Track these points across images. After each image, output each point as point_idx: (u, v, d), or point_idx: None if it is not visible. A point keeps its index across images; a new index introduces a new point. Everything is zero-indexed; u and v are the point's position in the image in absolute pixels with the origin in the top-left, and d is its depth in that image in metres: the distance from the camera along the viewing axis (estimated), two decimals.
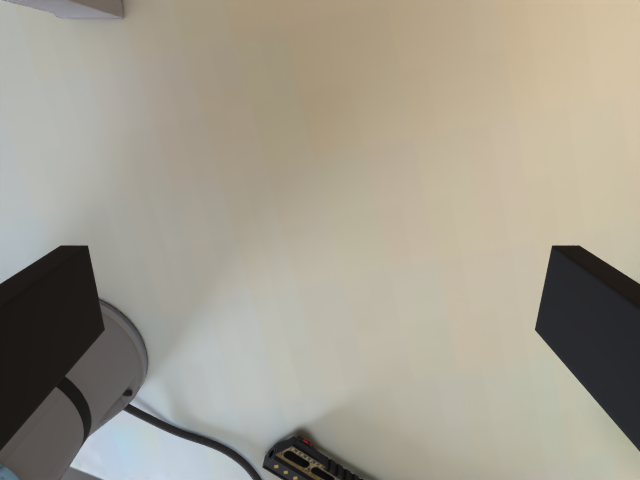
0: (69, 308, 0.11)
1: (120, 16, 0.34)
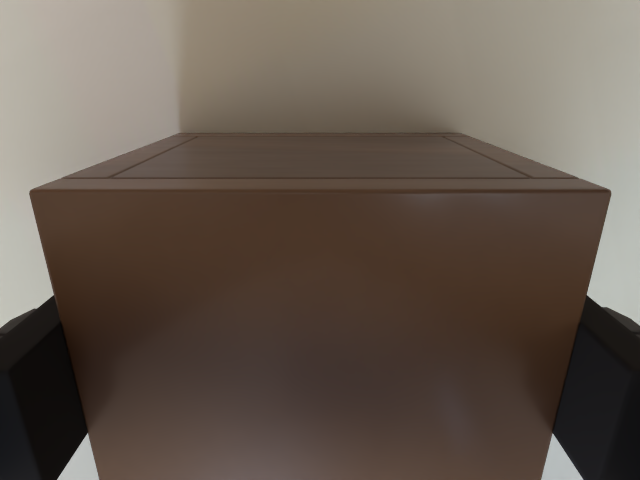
0: None
1: None
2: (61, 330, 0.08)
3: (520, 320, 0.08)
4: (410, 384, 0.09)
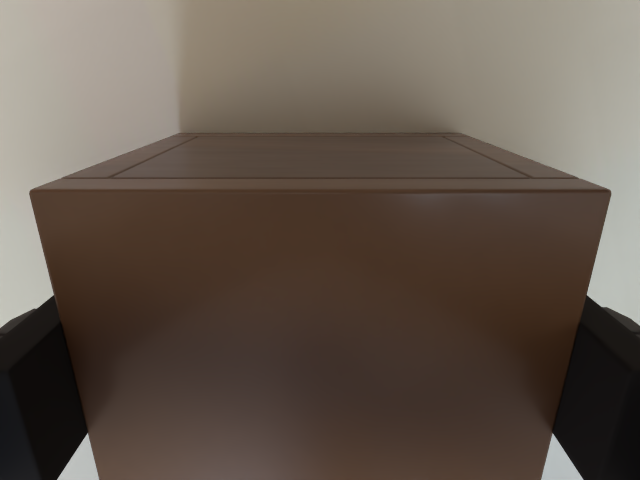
0: None
1: None
2: (61, 330, 0.08)
3: (520, 320, 0.08)
4: (410, 384, 0.09)
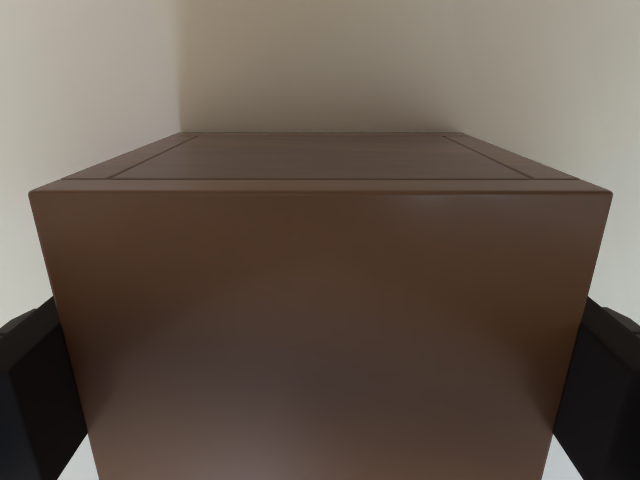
0: None
1: None
2: (61, 330, 0.08)
3: (521, 322, 0.08)
4: (410, 385, 0.09)
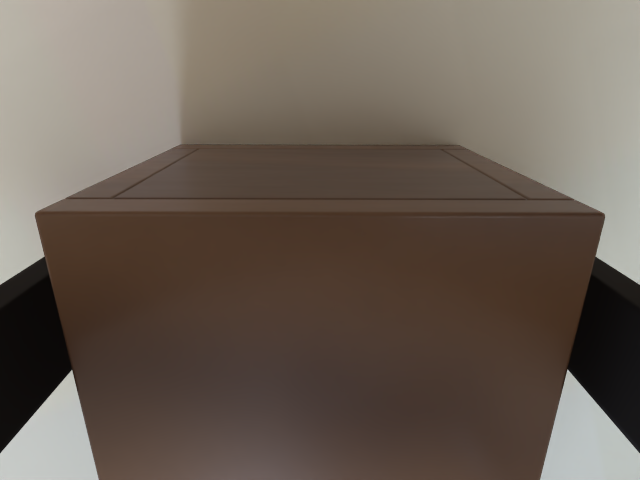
0: None
1: None
2: None
3: (516, 339, 0.08)
4: (408, 400, 0.09)
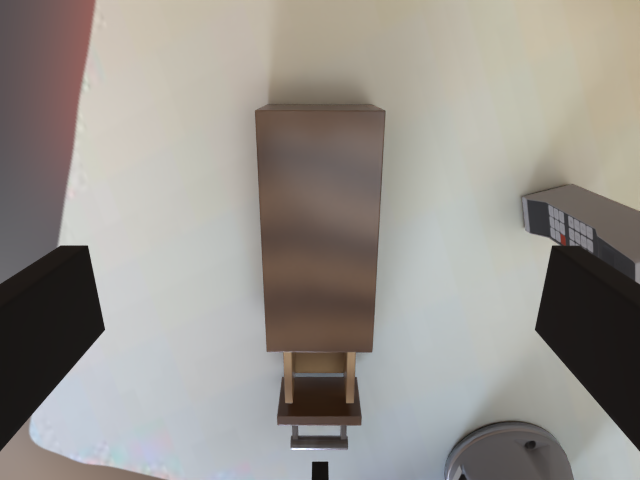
0: (69, 308, 0.11)
1: None
2: None
3: (368, 144, 0.33)
4: (342, 163, 0.34)
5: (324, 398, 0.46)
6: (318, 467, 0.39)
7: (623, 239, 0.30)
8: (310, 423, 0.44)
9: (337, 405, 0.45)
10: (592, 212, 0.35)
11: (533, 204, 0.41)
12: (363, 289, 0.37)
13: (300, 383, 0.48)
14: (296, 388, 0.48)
